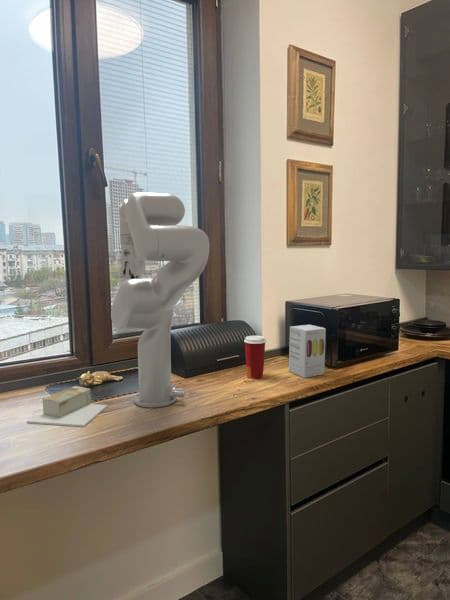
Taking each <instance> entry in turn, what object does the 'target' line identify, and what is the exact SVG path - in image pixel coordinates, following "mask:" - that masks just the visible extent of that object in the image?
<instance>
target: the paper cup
mask: <svg viewBox="0 0 450 600" xmlns="http://www.w3.org/2000/svg"><path fill="white" fill-rule="evenodd" d="M243 342H244V348H245V350H244V351H245V365H246V368H245V369H246V377H247V378H248V379H252V380H258V379H259V380H261V379H262V378H263V377H264V368H265V367H264V364H265V353H266V352H265V351H266V343H267V340H266V338H265V336H263V335H247V336H245V338H244V340H243Z"/></svg>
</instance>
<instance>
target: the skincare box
mask: <svg viewBox="0 0 450 600" xmlns="http://www.w3.org/2000/svg"><path fill="white" fill-rule="evenodd" d="M91 390H92V389H91V388H89V387H88V388H87V387H83V386H78V385H75V386H74V385H73V386H72V387H70V388H67V389H64V390H62V391H59V392H57V393H54V394H52V395H50V396H48V397H45V398H43V399H42V411H43V413H44V414H47V415H51V416H57V417H61V416H64V415H66V414H68V413H70V412H72V411H74V410H76V409H78V408H80V407H83V406H85V405H87V404H92V393H91Z"/></svg>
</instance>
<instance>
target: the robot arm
mask: <svg viewBox="0 0 450 600" xmlns="http://www.w3.org/2000/svg"><path fill="white" fill-rule="evenodd" d="M118 207H119V208H118V210H119V211H118V212H119V213H118V214H119V215H118V216H119V240H120V242H119V243H120V244H119V245H120V246H121V254H120V255H121V256H120V257H121V261H120V263H121V264H120V265H121V275H123V276H124V278H125V280H124V281H123V282H122V283H121V284H120V285H119V288H118V289H117V293H116V294H115V297H114V300H113V302H112V304H111V309H110V310H111V311H110V318H111V322H112V324H113V326H114V328H116V329H117V330H120V331H133V330H143V331H142V333H141V335H140V337H139V338H138V342H137V365H138V366H137V368H138V371H137V372H138V393H137V394H136V395H134V397H133V402H134V404H135V405H137V406H139V407H142V408H162V407H166V406H169V405H172V404H174V403H175V402H176V401H177V399H178V398H185V397H186V391H185V390H184V388H176V387H175V383H172V361H171V358H172V357H171V355H172V353H171V352H172V351H171V347H172V346H171V332H172V322H173V316H174V308H175V307H176V305H177V304H178V303H179V301H180V300H181V299H182V297H183V295H185V293H186V291H187V289H188V288H189V287H191V285H193V283H194V282H195V281H196V280H197V279H198V278H199V277H200V276H201V274H202V273H203V272H204V270H205V267H206V266H207V263H208V259H209V255H210V240H209V236H208V235H207V233H205V231H204V230H202V229H201V228H198V227H194V226H190V225H183V224H181V225H178V224H179V223H181V222H182V221H183V218H184V217H185V214H186V207H185V205H184V203H183V201H182V200H181V199H180V198H179V197H178V196H176V195H175V194H171V193H164V192H163V193H160V192H146V191H145V192H144V191H142V192H140V191H136V192H133V193H132V194H130V195H129V197H128V198H125V199H123V200H122V201H121V202H120V203H119V205H118ZM146 262H167V263H166V264H164V265H163V266H162V267H161V268H159V270H158V271H157V272H156V275H155V276H154V277H142V278H141V276H142V275H145V274H146Z"/></svg>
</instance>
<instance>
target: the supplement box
mask: <svg viewBox="0 0 450 600" xmlns="http://www.w3.org/2000/svg"><path fill="white" fill-rule="evenodd" d="M326 331H327V330H326V328H325V327H323V326H318V325H314V324H313V325H312V324H301V325H294V326H293V325H291V326H289V346H288V347H289V352H288V353H289V355H288V372H290V373H291V374H295V375H297V376H299V377H300V378H301V377H302V378H304V379H305V378H311V377H317V375H318V376H321V375H322V376H323V375H325V363H326V335H327V333H326Z"/></svg>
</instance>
